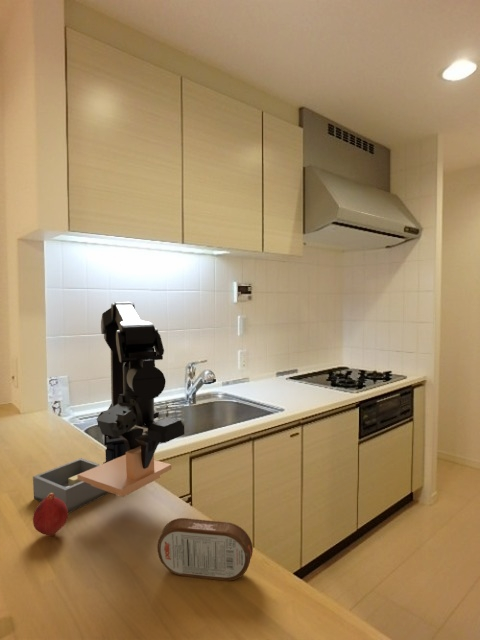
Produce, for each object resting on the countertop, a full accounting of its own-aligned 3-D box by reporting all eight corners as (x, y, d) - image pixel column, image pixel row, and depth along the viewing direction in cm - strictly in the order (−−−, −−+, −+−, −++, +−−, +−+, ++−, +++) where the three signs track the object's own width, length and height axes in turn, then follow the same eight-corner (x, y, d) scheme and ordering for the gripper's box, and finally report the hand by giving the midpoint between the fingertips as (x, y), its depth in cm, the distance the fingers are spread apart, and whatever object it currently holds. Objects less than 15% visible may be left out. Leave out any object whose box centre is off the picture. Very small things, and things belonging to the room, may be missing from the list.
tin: (253, 573, 64) (252, 521, 63) (250, 587, 61) (249, 532, 60) (162, 563, 66) (161, 513, 66) (155, 576, 63) (154, 524, 63)
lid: (129, 464, 91) (127, 431, 90) (171, 476, 84) (170, 440, 83) (77, 487, 80) (76, 449, 80) (121, 503, 73) (120, 462, 72)
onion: (33, 548, 71) (32, 504, 70) (33, 532, 76) (32, 490, 75) (69, 539, 73) (68, 496, 73) (67, 523, 78) (65, 483, 78)
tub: (81, 478, 98) (81, 458, 98) (114, 490, 92) (113, 469, 92) (33, 498, 88) (32, 476, 88) (66, 514, 82) (65, 490, 82)
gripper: (72, 390, 77) (75, 470, 78) (140, 403, 66) (143, 495, 67) (119, 380, 86) (121, 451, 87) (185, 390, 76) (187, 471, 77)
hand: (140, 466), depth 79 cm, fingers closed on lid, 2 cm apart
